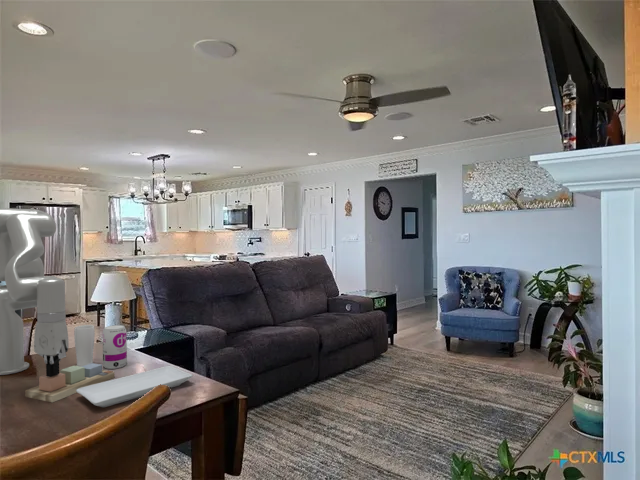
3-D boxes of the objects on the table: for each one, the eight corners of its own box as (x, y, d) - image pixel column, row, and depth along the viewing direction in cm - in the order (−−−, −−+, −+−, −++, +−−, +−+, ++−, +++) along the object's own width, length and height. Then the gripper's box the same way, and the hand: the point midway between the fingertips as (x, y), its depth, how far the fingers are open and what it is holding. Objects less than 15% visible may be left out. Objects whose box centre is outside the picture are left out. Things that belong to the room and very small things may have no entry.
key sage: (60, 382, 139) (60, 370, 139) (74, 377, 143) (73, 365, 143) (71, 384, 137) (71, 372, 137) (84, 379, 142) (84, 367, 141)
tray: (74, 399, 131) (74, 387, 131) (169, 373, 154) (169, 364, 154) (94, 415, 119) (94, 403, 119) (194, 385, 143) (194, 375, 142)
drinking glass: (86, 369, 157) (85, 329, 157) (70, 368, 159) (69, 328, 158) (98, 363, 164) (98, 325, 164) (83, 362, 165) (83, 324, 165)
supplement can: (131, 365, 162) (130, 326, 162) (110, 371, 155) (110, 330, 155) (119, 361, 167) (118, 323, 166) (98, 367, 160) (98, 327, 159)
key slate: (79, 378, 145) (79, 367, 145) (91, 374, 150) (91, 363, 150) (90, 380, 143) (89, 369, 143) (102, 376, 148) (102, 364, 148)
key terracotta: (39, 389, 132) (39, 377, 132) (54, 384, 137) (54, 372, 137) (50, 391, 130) (50, 379, 130) (65, 386, 135) (65, 373, 135)
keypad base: (25, 396, 132) (25, 389, 132) (89, 373, 153) (89, 366, 153) (52, 402, 127) (52, 395, 127) (114, 377, 149) (114, 371, 149)
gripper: (23, 318, 132) (24, 376, 132) (57, 321, 127) (58, 382, 127) (46, 313, 139) (47, 369, 139) (79, 316, 134) (80, 374, 134)
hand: (52, 375), depth 133 cm, fingers closed
